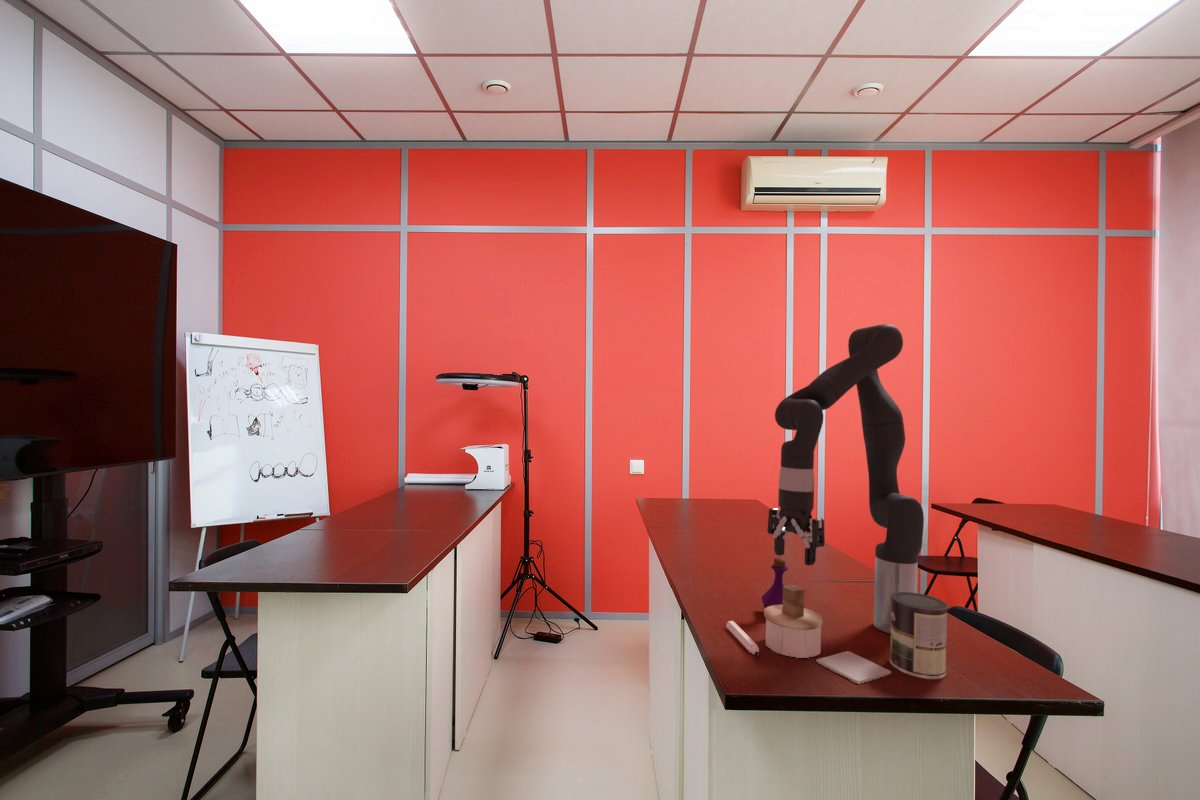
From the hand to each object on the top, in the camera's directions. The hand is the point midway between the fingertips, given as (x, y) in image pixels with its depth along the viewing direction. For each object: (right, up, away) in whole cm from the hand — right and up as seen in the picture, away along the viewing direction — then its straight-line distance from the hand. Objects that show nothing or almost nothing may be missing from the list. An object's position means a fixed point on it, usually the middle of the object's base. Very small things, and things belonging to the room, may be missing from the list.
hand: (793, 559), depth 121 cm
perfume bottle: (+2, -20, +18) cm, 27 cm away
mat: (+9, -20, -10) cm, 24 cm away
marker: (-11, -20, +1) cm, 23 cm away
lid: (0, -13, 0) cm, 13 cm away
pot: (-1, -20, 0) cm, 20 cm away
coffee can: (+23, -20, -8) cm, 32 cm away
